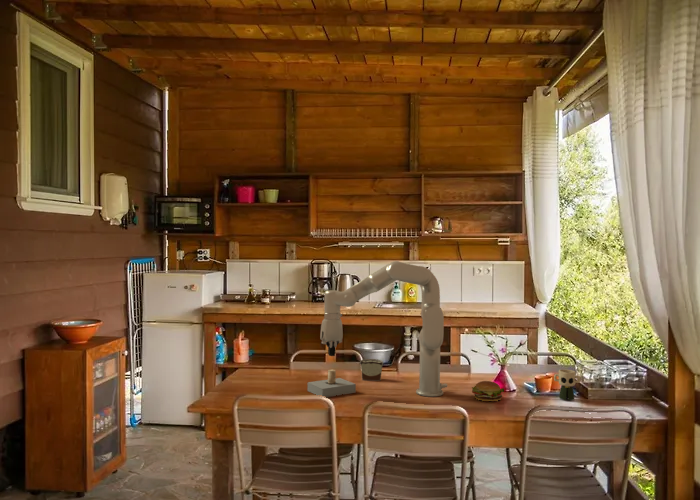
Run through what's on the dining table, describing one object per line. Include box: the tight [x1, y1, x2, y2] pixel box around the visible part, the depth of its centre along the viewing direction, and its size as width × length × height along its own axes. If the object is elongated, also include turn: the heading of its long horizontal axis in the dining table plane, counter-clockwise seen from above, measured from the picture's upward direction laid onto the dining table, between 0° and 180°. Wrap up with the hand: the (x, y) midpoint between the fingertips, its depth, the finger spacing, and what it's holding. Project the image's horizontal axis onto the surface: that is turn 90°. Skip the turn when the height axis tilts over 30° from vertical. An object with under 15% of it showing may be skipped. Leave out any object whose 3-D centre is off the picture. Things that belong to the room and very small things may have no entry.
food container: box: [359, 358, 384, 382], centre depth 284 cm, size 12×6×10 cm, turn 84°
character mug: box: [553, 368, 581, 401], centre depth 249 cm, size 11×7×13 cm, turn 72°
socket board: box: [307, 377, 357, 398], centre depth 258 cm, size 18×14×4 cm
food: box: [471, 380, 505, 402], centre depth 248 cm, size 14×14×8 cm
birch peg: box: [327, 369, 337, 385], centre depth 258 cm, size 4×4×10 cm
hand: (331, 355), depth 258 cm, fingers closed
